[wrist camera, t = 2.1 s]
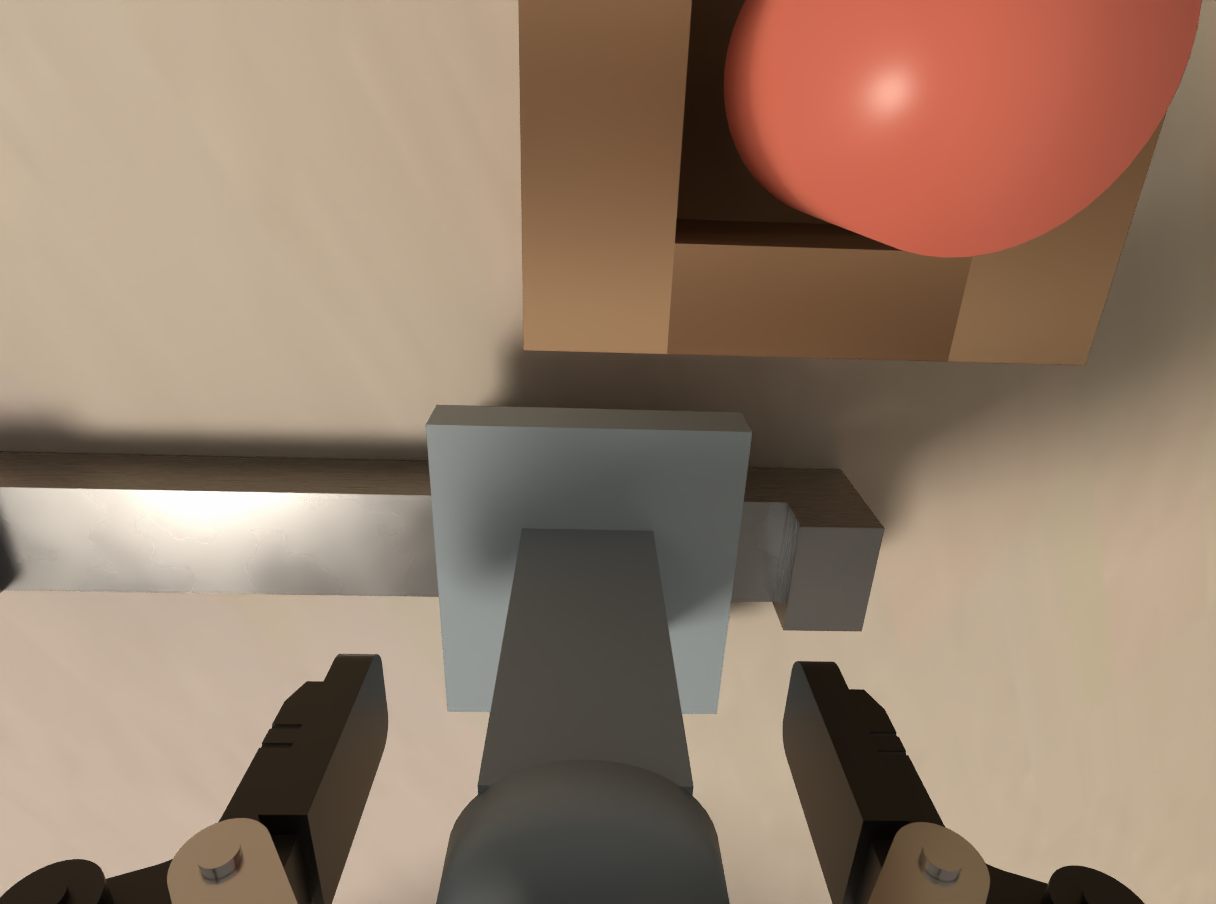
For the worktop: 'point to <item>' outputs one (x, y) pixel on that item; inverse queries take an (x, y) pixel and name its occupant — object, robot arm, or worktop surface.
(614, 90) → the cabinet
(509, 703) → the carriage
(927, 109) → the button
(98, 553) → the rail
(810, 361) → the worktop surface
